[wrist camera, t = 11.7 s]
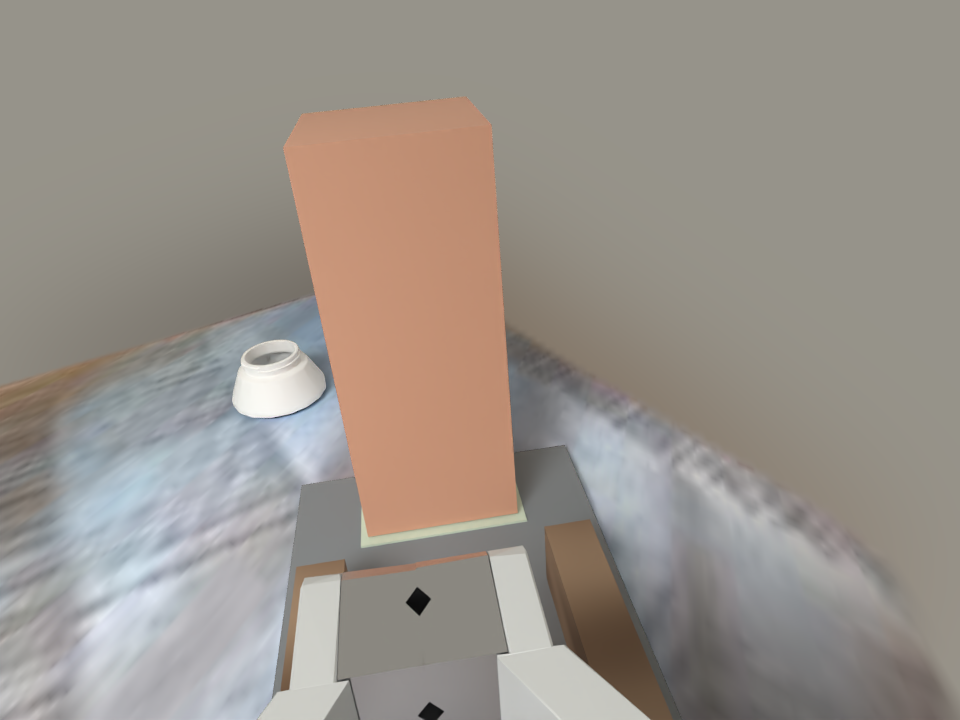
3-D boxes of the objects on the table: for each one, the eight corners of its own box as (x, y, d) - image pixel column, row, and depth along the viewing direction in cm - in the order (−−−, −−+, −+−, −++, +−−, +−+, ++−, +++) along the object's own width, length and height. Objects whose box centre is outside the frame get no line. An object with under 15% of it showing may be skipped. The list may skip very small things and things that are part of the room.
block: (517, 513, 27) (491, 124, 20) (368, 537, 26) (283, 147, 19) (493, 428, 32) (465, 96, 25) (368, 447, 32) (301, 113, 24)
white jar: (259, 375, 40) (220, 423, 36) (246, 331, 39) (204, 376, 34) (338, 375, 39) (308, 425, 35) (329, 330, 38) (296, 376, 34)
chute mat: (783, 972, 15) (787, 962, 14) (222, 1100, 14) (215, 1092, 13) (557, 433, 32) (556, 424, 32) (306, 471, 31) (304, 462, 31)
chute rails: (731, 945, 15) (744, 892, 14) (271, 1049, 14) (240, 1001, 13) (589, 571, 24) (589, 519, 23) (311, 618, 23) (296, 566, 22)
